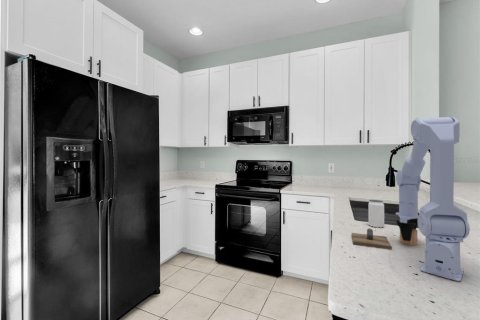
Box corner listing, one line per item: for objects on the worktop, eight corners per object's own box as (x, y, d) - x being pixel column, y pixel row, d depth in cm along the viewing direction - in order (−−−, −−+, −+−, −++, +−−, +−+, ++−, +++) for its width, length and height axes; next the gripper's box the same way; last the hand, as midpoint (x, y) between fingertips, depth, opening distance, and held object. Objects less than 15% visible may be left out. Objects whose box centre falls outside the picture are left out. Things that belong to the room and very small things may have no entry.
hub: (415, 246, 82) (415, 232, 83) (398, 242, 86) (398, 229, 86) (418, 242, 86) (418, 229, 86) (402, 239, 90) (402, 226, 90)
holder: (391, 249, 79) (391, 235, 79) (353, 244, 84) (353, 230, 84) (385, 239, 90) (385, 226, 90) (351, 235, 95) (351, 223, 95)
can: (376, 228, 105) (376, 202, 105) (365, 224, 111) (365, 200, 111) (387, 227, 106) (387, 201, 107) (376, 223, 113) (375, 199, 113)
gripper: (400, 199, 94) (401, 232, 94) (390, 203, 85) (390, 240, 84) (422, 201, 89) (422, 236, 89) (413, 206, 79) (413, 245, 79)
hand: (408, 238), depth 86 cm, fingers closed on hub, 5 cm apart
